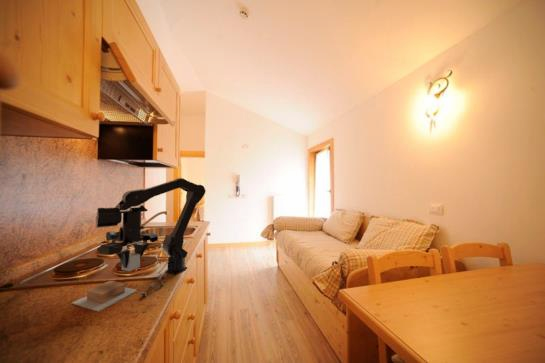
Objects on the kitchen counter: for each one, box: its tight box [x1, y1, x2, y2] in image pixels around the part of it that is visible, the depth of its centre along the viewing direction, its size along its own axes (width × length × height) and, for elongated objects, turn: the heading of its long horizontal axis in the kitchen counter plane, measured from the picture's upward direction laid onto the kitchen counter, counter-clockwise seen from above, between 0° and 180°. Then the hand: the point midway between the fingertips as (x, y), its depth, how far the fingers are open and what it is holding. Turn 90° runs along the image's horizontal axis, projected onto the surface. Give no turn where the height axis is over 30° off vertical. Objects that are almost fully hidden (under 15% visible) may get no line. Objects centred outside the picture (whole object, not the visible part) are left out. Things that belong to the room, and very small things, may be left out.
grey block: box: [121, 252, 141, 272], centre depth 75 cm, size 4×4×5 cm
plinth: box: [86, 280, 126, 304], centre depth 66 cm, size 7×7×3 cm
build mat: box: [71, 286, 138, 313], centre depth 66 cm, size 12×12×1 cm
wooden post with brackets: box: [140, 274, 165, 298], centre depth 71 cm, size 2×8×4 cm, turn 162°
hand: (131, 265), depth 75 cm, fingers closed on grey block, 4 cm apart
